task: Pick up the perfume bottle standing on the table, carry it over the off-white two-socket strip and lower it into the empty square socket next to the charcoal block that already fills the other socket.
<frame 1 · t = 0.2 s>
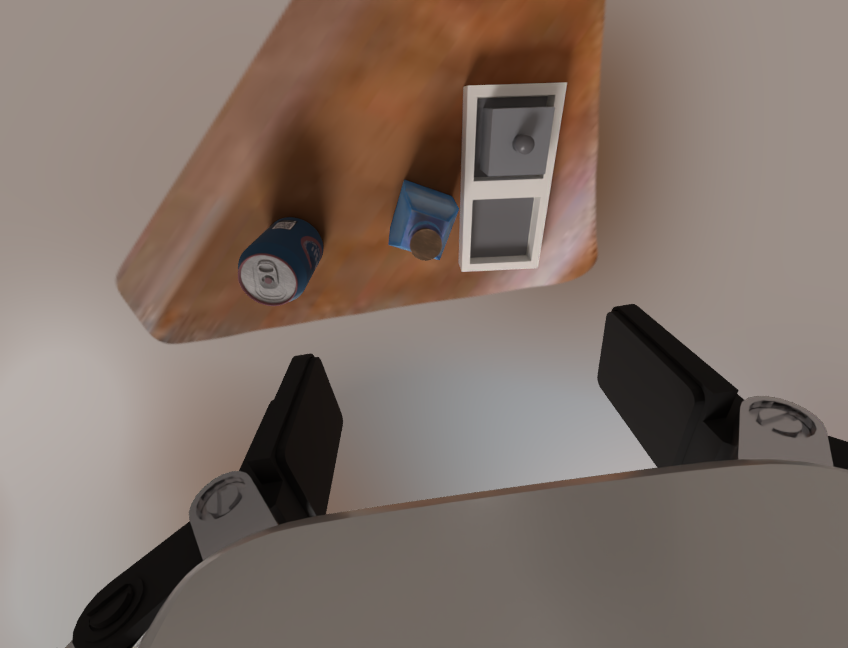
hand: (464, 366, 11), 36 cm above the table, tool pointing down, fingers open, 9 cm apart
socket strip: (501, 184, 43), on the table
soda can: (298, 240, 45), on the table
charcoal plug block: (507, 138, 39), resting on socket strip
perfume bottle: (420, 212, 44), on the table
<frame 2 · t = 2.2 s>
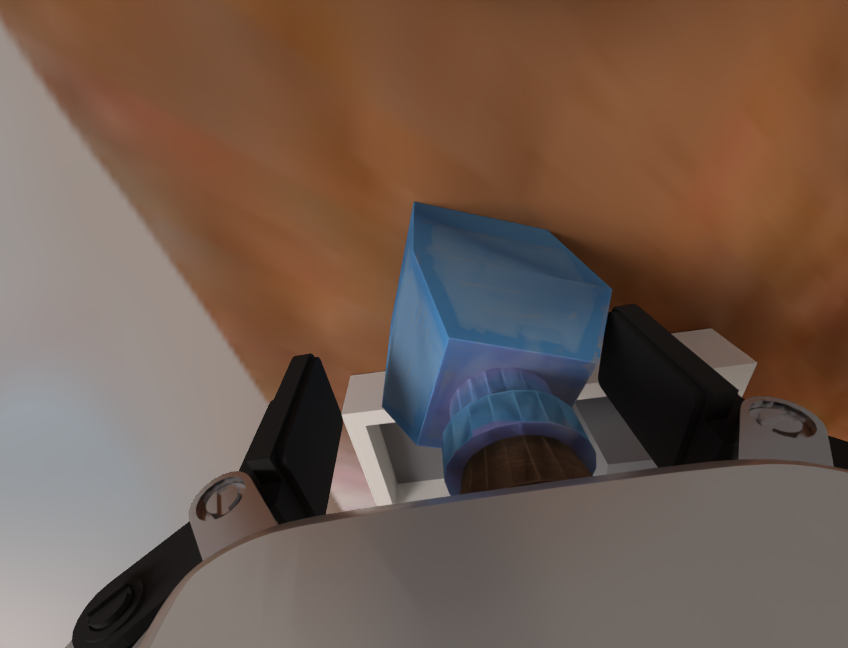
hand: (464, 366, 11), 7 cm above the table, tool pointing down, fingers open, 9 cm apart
socket strip: (525, 415, 22), on the table
charcoal plug block: (613, 417, 21), resting on socket strip
perfume bottle: (463, 276, 17), on the table, touching gripper
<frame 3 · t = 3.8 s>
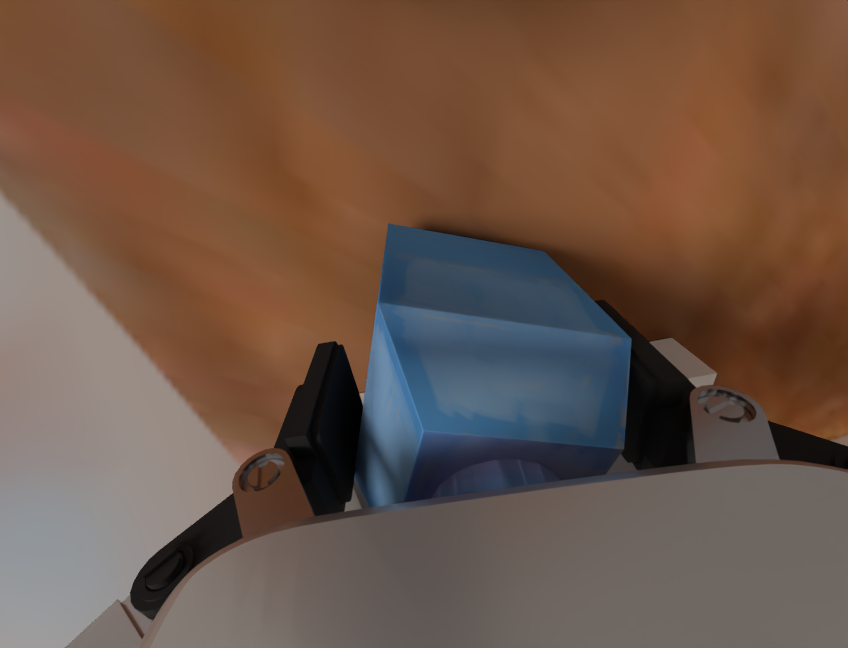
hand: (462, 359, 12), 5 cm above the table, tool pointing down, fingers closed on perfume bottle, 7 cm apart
socket strip: (492, 433, 21), on the table
perfume bottle: (449, 305, 15), point 1 cm above the table, touching gripper
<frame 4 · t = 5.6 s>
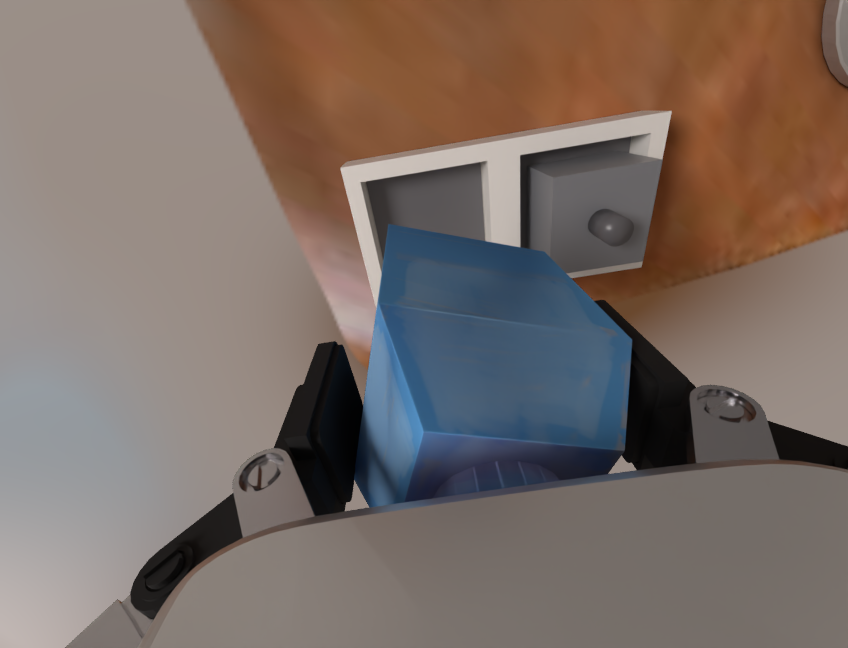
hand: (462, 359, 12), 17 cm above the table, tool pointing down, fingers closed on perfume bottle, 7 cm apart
socket strip: (495, 211, 26), on the table
charcoal plug block: (567, 203, 25), resting on socket strip
perfume bottle: (450, 306, 15), point 13 cm above the table, touching gripper
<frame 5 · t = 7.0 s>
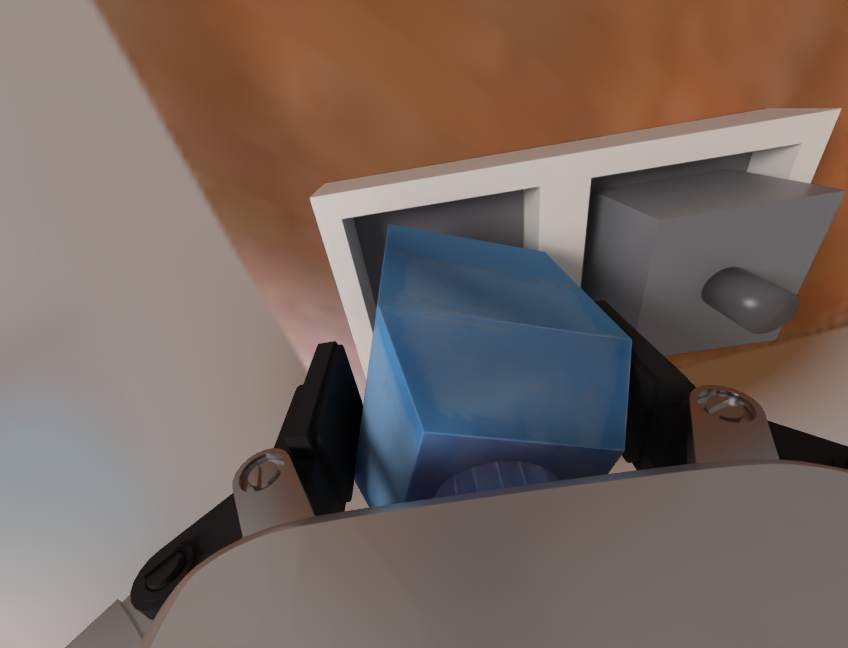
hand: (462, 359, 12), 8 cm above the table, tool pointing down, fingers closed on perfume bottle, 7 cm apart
socket strip: (538, 251, 18), on the table
charcoal plug block: (645, 243, 17), resting on socket strip
perfume bottle: (450, 306, 15), point 4 cm above the table, touching gripper
when the fingers open (6 cm above the table, at t = 8.2 s): perfume bottle stays where it is, resting on socket strip.
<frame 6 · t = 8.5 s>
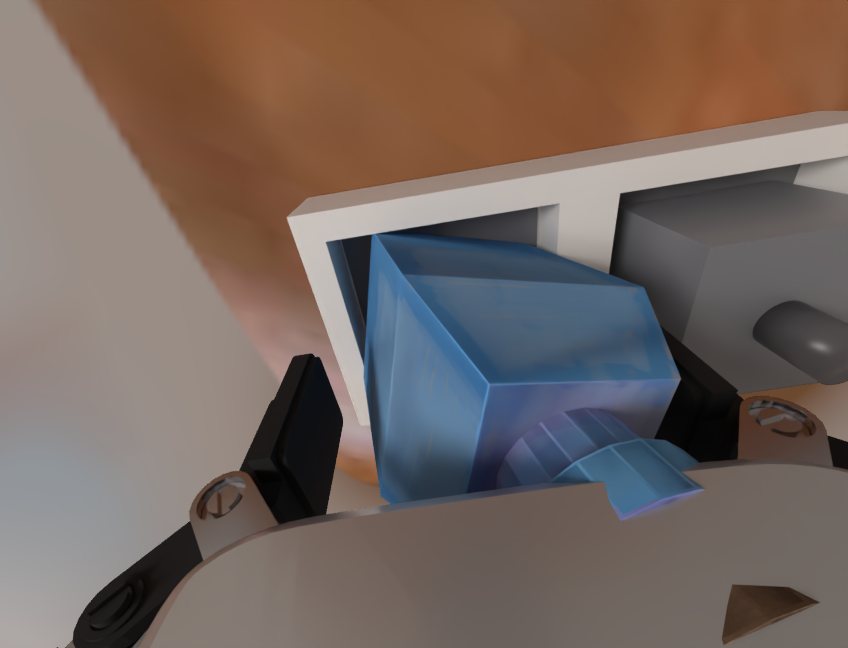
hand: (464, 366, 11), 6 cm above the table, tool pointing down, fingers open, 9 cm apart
socket strip: (551, 272, 16), on the table
charcoal plug block: (674, 263, 15), resting on socket strip
perfume bottle: (440, 309, 15), point 2 cm above the table, touching socket strip
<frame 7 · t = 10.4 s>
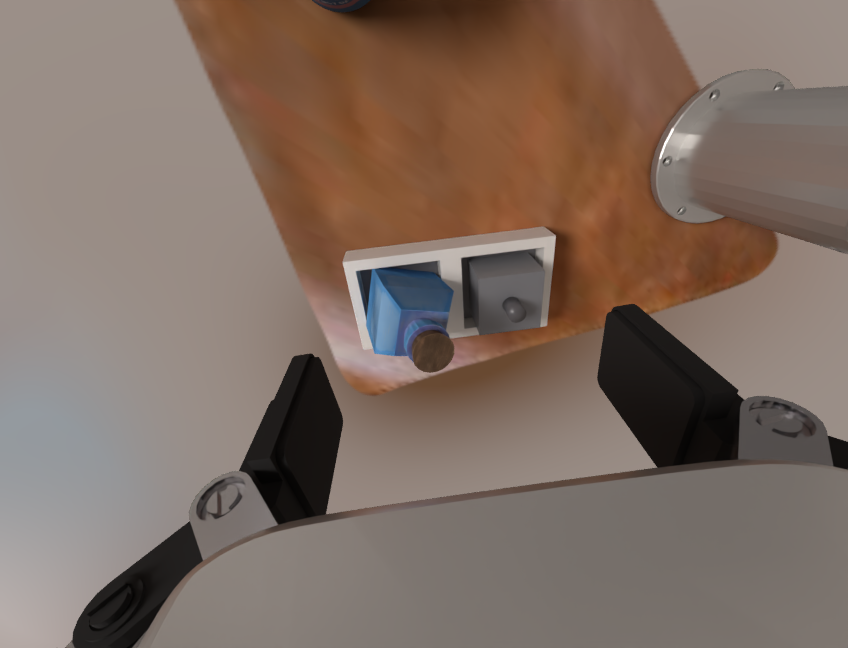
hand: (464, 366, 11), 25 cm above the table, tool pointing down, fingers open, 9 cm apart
socket strip: (448, 284, 38), on the table
charcoal plug block: (496, 282, 37), resting on socket strip
perfume bottle: (398, 298, 36), point 2 cm above the table, touching socket strip
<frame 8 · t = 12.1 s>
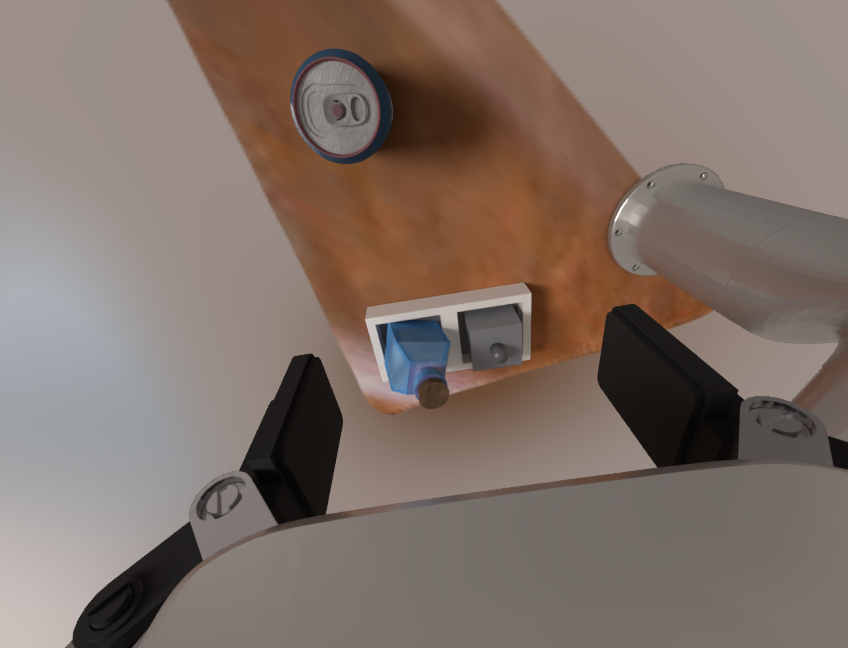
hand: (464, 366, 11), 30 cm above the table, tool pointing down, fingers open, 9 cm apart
socket strip: (449, 327, 47), on the table
soda can: (357, 110, 33), on the table
charcoal plug block: (488, 326, 46), resting on socket strip
perfume bottle: (409, 341, 45), point 2 cm above the table, touching socket strip
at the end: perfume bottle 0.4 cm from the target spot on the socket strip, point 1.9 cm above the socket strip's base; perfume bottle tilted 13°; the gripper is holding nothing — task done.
